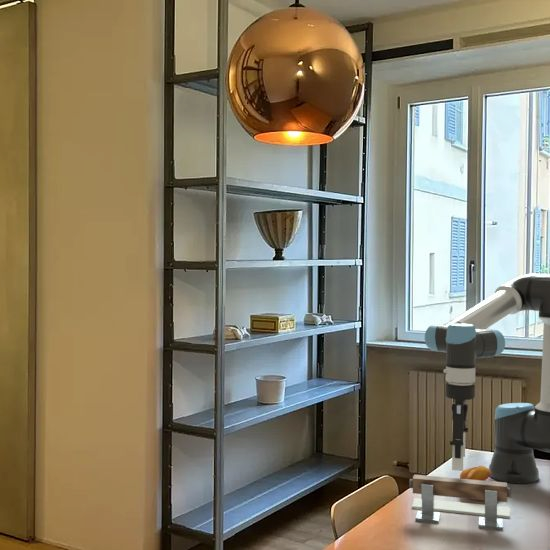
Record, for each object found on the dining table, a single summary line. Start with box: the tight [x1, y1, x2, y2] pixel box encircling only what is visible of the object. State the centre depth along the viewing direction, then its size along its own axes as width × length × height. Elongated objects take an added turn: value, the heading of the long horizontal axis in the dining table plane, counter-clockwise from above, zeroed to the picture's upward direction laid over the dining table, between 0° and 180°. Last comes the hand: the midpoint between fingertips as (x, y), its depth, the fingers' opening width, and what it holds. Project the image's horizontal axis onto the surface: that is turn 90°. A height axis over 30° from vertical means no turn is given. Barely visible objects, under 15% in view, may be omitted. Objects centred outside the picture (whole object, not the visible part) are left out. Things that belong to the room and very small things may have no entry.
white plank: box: [411, 497, 511, 519], centre depth 201 cm, size 26×7×1 cm, turn 73°
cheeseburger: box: [459, 465, 496, 502], centre depth 211 cm, size 10×11×10 cm
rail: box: [408, 474, 512, 503], centre depth 192 cm, size 26×4×4 cm, turn 73°
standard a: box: [415, 484, 441, 524], centre depth 194 cm, size 6×6×10 cm
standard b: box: [478, 489, 504, 531], centre depth 189 cm, size 6×6×10 cm
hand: (458, 463), depth 191 cm, fingers open, 13 cm apart
